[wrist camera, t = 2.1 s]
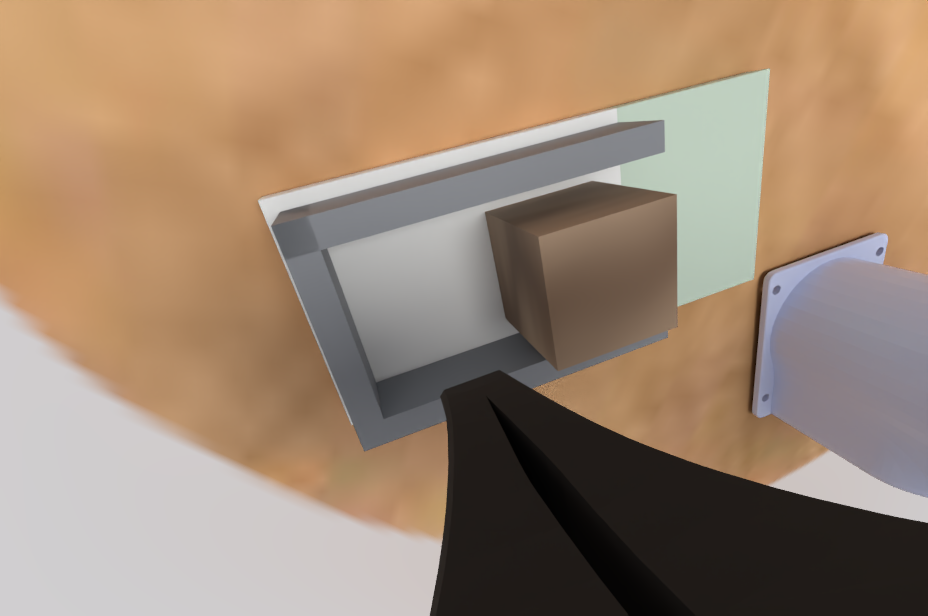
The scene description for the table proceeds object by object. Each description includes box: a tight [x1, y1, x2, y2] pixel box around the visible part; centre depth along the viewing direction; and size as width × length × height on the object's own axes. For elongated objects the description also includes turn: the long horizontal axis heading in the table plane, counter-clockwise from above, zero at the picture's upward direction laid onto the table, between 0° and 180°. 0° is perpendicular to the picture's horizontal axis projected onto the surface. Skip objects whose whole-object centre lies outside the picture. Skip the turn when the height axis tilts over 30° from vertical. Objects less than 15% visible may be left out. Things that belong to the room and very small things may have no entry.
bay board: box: [258, 69, 770, 451], centre depth 17 cm, size 9×20×4 cm, turn 103°
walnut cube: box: [485, 181, 678, 371], centre depth 15 cm, size 4×4×4 cm
